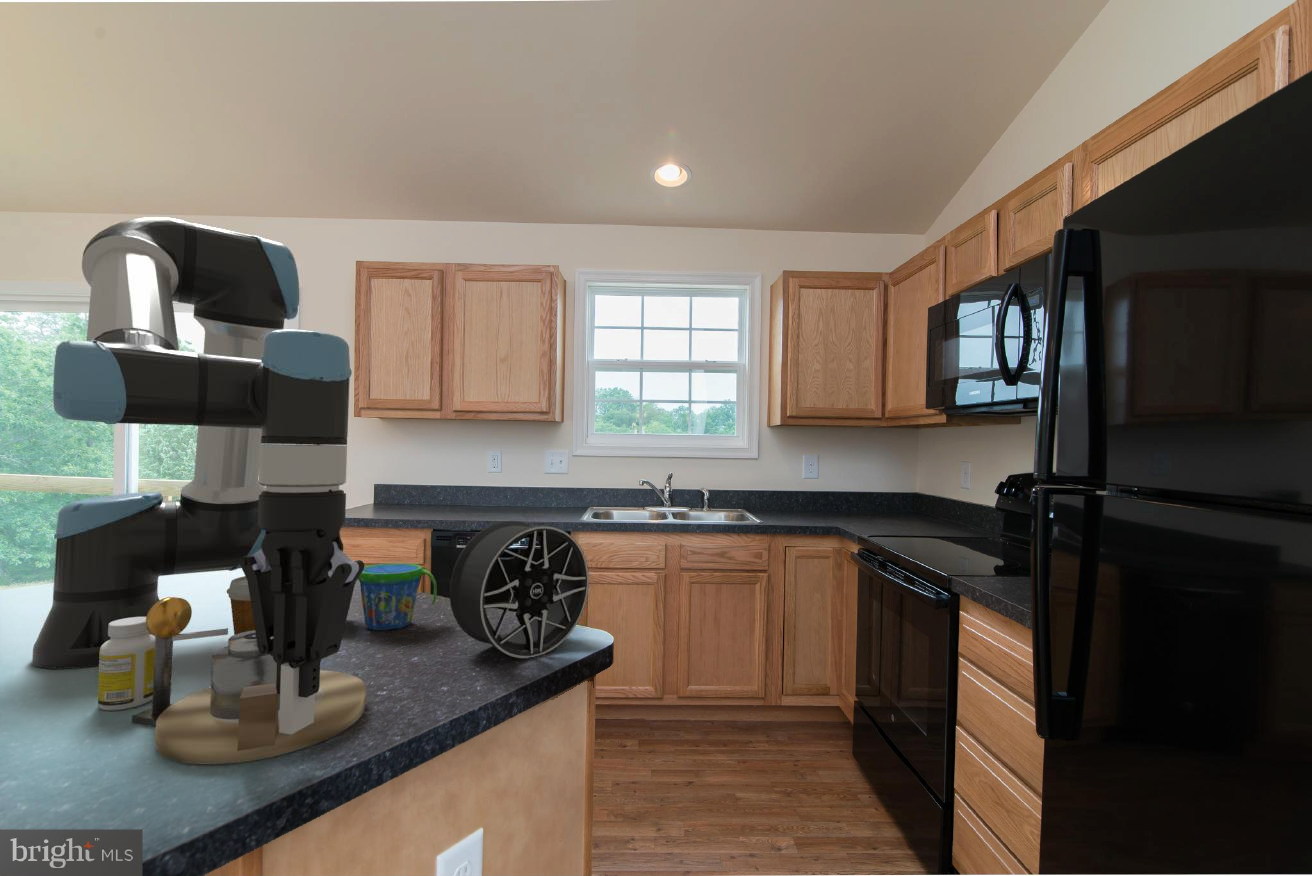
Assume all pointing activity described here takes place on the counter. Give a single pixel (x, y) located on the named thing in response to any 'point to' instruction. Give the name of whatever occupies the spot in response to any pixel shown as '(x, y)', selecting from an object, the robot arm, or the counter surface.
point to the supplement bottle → (126, 665)
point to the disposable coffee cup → (241, 605)
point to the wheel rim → (521, 588)
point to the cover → (238, 673)
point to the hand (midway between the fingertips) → (296, 727)
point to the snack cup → (391, 594)
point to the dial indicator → (167, 650)
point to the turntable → (255, 723)
